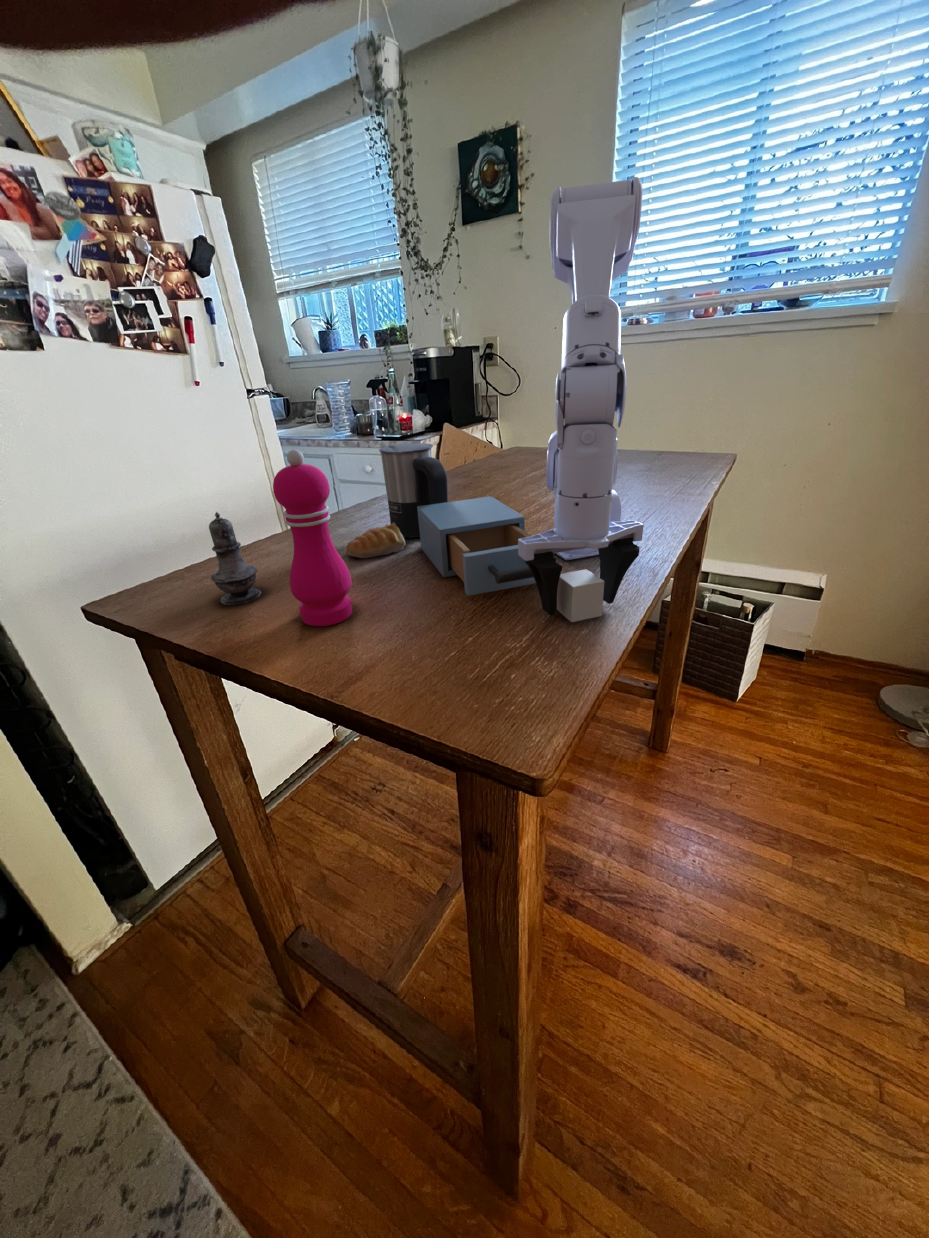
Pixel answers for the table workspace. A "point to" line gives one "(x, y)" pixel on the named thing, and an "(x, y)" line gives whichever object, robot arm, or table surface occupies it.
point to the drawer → (488, 559)
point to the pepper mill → (312, 544)
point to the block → (580, 595)
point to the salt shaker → (231, 565)
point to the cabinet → (459, 524)
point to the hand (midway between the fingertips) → (578, 606)
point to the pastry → (377, 542)
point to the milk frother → (412, 483)
